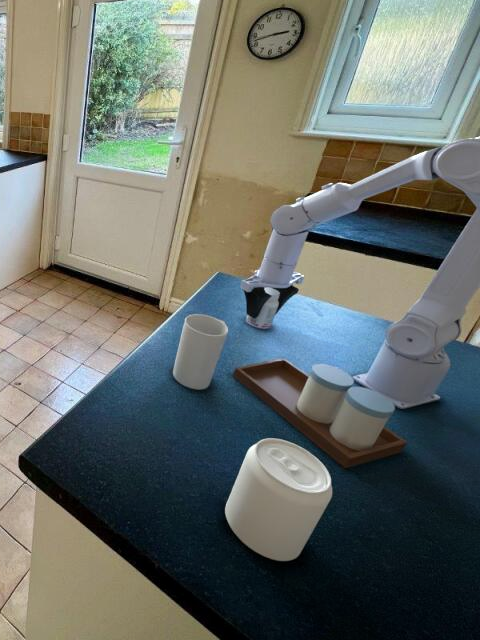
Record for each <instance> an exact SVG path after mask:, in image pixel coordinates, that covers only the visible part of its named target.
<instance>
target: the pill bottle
mask: <svg viewBox="0 0 480 640" xmlns="http://www.w3.org/2000/svg"><path fill="white" fill-rule="evenodd" d="M264 290H265V292H266V293H268V294H270V295H271V296H272V297H270V298H269V299H268V300H267V301H266V303H265V304H264V305H263V307H262V309H261V311H260V313H259V315H258V317H257V318H255V319H254V318H252V317H250V316H249V315H247V314H246V319H245V320H246V321H245V322H246V323H247V324H248V325H250V326H251V327H254V328H256V329H260V330H261V329H263V330H266V329H267V330H268V329H270V328H271V326H272V324H273V321H274V319H275V316H276V315H275V313H276V310H277V308H278V304H279V302H278V298H279V295H280V293H279V291H277V290H275V289H273V288H268V287H266V288H264Z"/></svg>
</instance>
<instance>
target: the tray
mask: <svg viewBox="0 0 480 640" xmlns="http://www.w3.org/2000/svg"><path fill="white" fill-rule="evenodd" d="M233 371H234V372H233V374H232V377H233V379H235V380H237V381H238V382H239V383H240V384H242V385H243V386H244V387H245V388H246V389H248V390H249V391H250V392H252V394H253V395H255V396H256V397H257V398H259V399H260V400H261V401H262V402H263V403H265V404H266V405H267V406H269V407H270V408H271V409H272V410H273V411H274V412H276V413H277V414H278V415H279V416H280V417H282V418H283V419H284V420H285V421H287V422H288V423H289V424H290V425H291V426H293V427H294V428H295V429H296V430H298V431H299V432H300V433H302V435H304V436H305V437H306V438H308V439H309V440H310V441H311V442H312V443H313V444H315V445H316V446H317V447H319V448H320V449H321V450H322V451H323V452H325V453H326V454H327V456H330V457H331V458H332V459H333V460H334V461H335V462H336V463H338V464H339V465H341V466H342V467H343V468H344V469H349V468H352V467H356V466H358V465H362V464H366V463H369V462H372V461H376V460H379V459H383V458H387V457H390V456H393V455H396V454H399V453H403V451H404V449H405V448H406V446H407V445H408V441H407V440H405V439H403V438H402V437H401V436H399V435H398V434H396V433H394V431H392V430H391V429H389V428H388V427H386V426H384V427H383V429H382V431H381V432H380V434H379V436H378V438H377V439H376V441H375V443H374V445H373V446H372V448H371V449H367V450H364V451H357V450H353V449H351V448H348V447H346V446H344V445H343V444H341V443H340V442H338V441H337V440H336V439H335V438H334V437H333V436H332V435H331V433H330V427H331V425H332V423H333V422H332V423H320V422H316V421H314V420H311V419H309V418H308V417H306V416H305V415H303V414H302V413H301V412H300V411H299V410H298V408H297V402H298V400H299V398H300V396H301V393H302V391H303V389H304V387H305V384H306V382H307V380H308V378H309V375H310V374H308V373H307V372H305V371H304V370H303V369H301V368H300V367H298V366H296V365H295V364H294V363H292V362H290V361H289V360H287V359H286V358H285V357H281V358H276V359H271V360H265V361H261V362H256V363H251V364H247V365H242V366H241V365H240V366H237V367H235V369H234V370H233Z"/></svg>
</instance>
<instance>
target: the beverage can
mask: <svg viewBox="0 0 480 640" xmlns="http://www.w3.org/2000/svg"><path fill="white" fill-rule="evenodd" d="M332 497H333V486H332V478H331V474H330V472H329V470H328V468H327V467H326V466H325V465H324V463H323V462H322V461H320V460H319V458H318V457H316V456H315V455H314V454H313V453H311V452H310V451H308V450H307V449H305V448H303V447H301V446H300V445H298V444H295V443H293V442H292V441H288V440H284V439H281V438H273V437H268V438H263V439H260V440H259V441H257V442H256V443H254V444H253V445H252V446H250V447H249V448H248V450H247V452H246V454H245V457H244V459H243V462H242V464H241V467H240V468H239V471H238V474H237V476H236V479H235V481H234V484H233V486H232V489H231V491H230V494H229V496H228V499H227V501H226V504H225V506H224V514H225V518H226V520H227V523H228V525H229V528H230V529H231V531H232V532H233V533H234V534H235V536H236V537H237V538H238V539H239V540H240V541H241V542H242V543H243V544H244V545H245V546H247V547H248V548H249V549H251V550H252V551H254V552H255V553H257V554H258V555H260V556H263V557H265V558H268V559H270V560H274V561H278V562H289V561H292V560H295V559H297V558H298V557H299V556H300V555H301V553H302V551H303V549H304V547H305V546H306V544H307V542H308V540H309V539H310V537H311V535H312V534H313V532H314V530H315V528H316V526H317V524H318V522H319V521H320V519H321V517H322V516H323V514H324V512H325V510H326V509H327V507H328V505H329V503H330V501H331V500H332Z"/></svg>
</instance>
